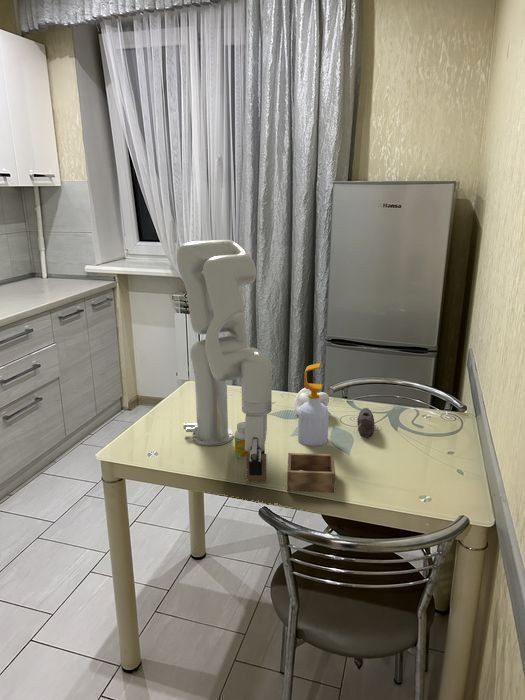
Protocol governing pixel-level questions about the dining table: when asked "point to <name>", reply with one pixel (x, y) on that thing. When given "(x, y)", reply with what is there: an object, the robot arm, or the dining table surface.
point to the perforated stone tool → (365, 423)
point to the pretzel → (303, 398)
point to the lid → (254, 477)
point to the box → (311, 472)
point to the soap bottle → (313, 415)
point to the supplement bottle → (240, 441)
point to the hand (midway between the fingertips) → (257, 465)
